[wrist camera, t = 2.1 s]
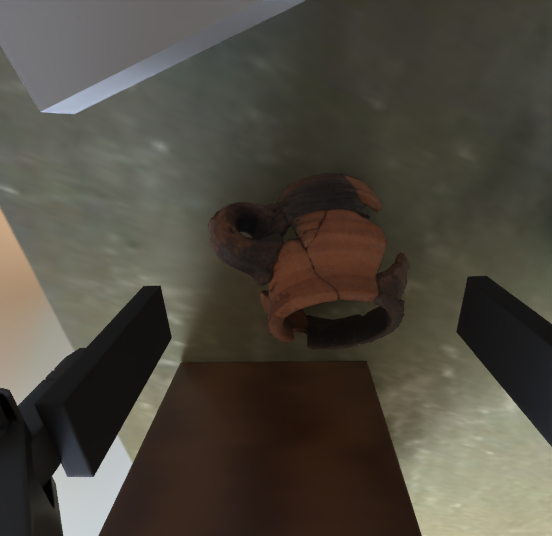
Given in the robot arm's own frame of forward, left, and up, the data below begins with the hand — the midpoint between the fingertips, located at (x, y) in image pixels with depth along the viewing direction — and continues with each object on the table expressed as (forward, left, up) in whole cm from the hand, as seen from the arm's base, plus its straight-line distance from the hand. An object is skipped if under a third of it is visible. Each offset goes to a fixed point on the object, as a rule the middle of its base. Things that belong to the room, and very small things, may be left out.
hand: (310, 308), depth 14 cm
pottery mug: (0, 0, -9) cm, 9 cm away
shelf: (+3, +19, -8) cm, 21 cm away
